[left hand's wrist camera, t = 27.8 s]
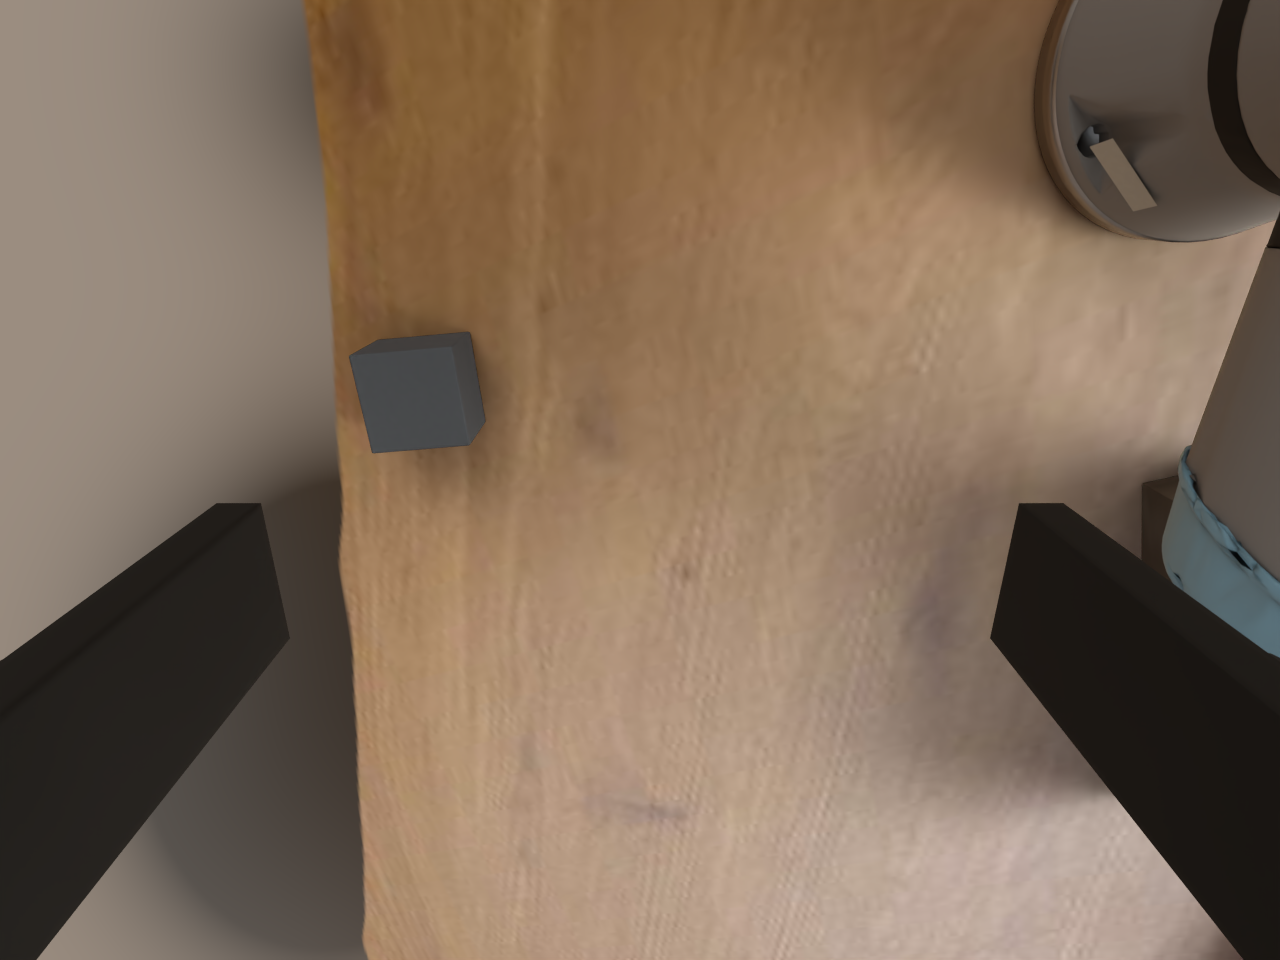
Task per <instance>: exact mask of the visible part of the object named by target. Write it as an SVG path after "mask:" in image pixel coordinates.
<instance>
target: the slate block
mask: <svg viewBox="0 0 1280 960" xmlns="http://www.w3.org/2000/svg"><path fill="white" fill-rule="evenodd" d="M349 359H350V363H351V367H352V371H353V375H354V379H355V384H356V388H357V392H358V396H359V400H360V404H361V409H362V413H363V417H364V421H365V425H366V429H367V434H368V438H369V442H370V446H371V450H372V453H383V452H395V451H407V450H419V449H431V448H443V447H455V446H467V445H470V444H471V442H472V441H473V439H474V438H475V436H476V435H477V433H478V432H479V430H480V429H481V428H482V426H483V425H484V423H485V416H484V410H483V405H482V399H481V393H480V387H479V382H478V376H477V370H476V364H475V359H474V353H473V347H472V342H471V336H470V333H469V332H461V333H450V334H439V335H427V336H416V337H405V338H393V339H382V340H377V341H375V342H373V343H371V344H369V345H368V346H366V347H364V348H362V349H360V350H359V351H357V352H355V353H353V354H351V355H350V356H349Z"/></svg>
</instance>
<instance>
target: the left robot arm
mask: <svg viewBox="0 0 1280 960" xmlns="http://www.w3.org/2000/svg"><path fill="white" fill-rule="evenodd" d="M1034 110H1035V124H1036V130H1037V136H1038V142H1039V145H1040V149H1041V152H1042V156H1043V159H1044V161H1045V164H1046V166H1047V169H1048V171H1049V173H1050V175H1051V177H1052V179H1053V181H1054V182H1055V184H1056V186H1057V187H1058V189H1059V190H1060V191H1061V193H1062V194H1063V196H1064V197H1065V198H1066V199H1067V200H1068V201H1069V203H1070V204H1071V205H1072V206H1073V207H1074V208H1075V209H1076V210H1078V211H1079V212H1080V213H1081V214H1082V215H1083V216H1085V217H1086V218H1088V219H1089V220H1091V221H1092V222H1094V223H1095V224H1097V225H1099V226H1101V227H1103V228H1105V229H1107V230H1109V231H1112V232H1114V233H1117V234H1120V235H1124V236H1128V237H1132V238H1138V239H1146V240H1155V241H1166V242H1198V241H1207V240H1212V239H1218V238H1222V237H1226V236H1230V235H1233V234H1237V233H1240V232H1242V231H1245V230H1248V229H1251V228H1254V227H1256V226H1259V225H1262V224H1265V223H1268V222H1271V221H1274V220H1276V223H1275V226H1274V228H1273V231H1272V234H1271V237H1270V239H1269V242H1268V244H1267V247H1266V248H1265V250H1264V253H1263V255H1262V258H1261V261H1260V263H1259V266H1258V269H1257V272H1256V274H1255V277H1254V280H1253V282H1252V285H1251V288H1250V290H1249V293H1248V296H1247V298H1246V301H1245V304H1244V306H1243V309H1242V312H1241V315H1240V317H1239V320H1238V323H1237V325H1236V328H1235V331H1234V333H1233V336H1232V339H1231V341H1230V344H1229V347H1228V349H1227V352H1226V355H1225V358H1224V360H1223V363H1222V366H1221V368H1220V371H1219V374H1218V376H1217V379H1216V382H1215V384H1214V387H1213V390H1212V392H1211V395H1210V398H1209V401H1208V403H1207V406H1206V409H1205V411H1204V414H1203V417H1202V419H1201V422H1200V425H1199V427H1198V430H1197V433H1196V435H1195V438H1194V441H1193V444H1192V445H1190V446H1187V447H1186V448H1185V450H1184V451H1183V453H1182V455H1181V457H1180V460H1179V465H1178V475H1179V483H1178V486H1177V490H1176V493H1175V497H1174V500H1173V503H1172V507H1171V510H1170V514H1169V517H1168V520H1167V524H1166V527H1165V531H1164V534H1163V539H1162V556H1163V562H1164V565H1165V569H1166V572H1167V574H1168V576H1169V578H1170V579H1171V581H1172V582H1170V581H1169V580H1168V579H1166V578H1165V577H1163V576H1162V575H1161V574H1159V573H1158V572H1157V571H1155V570H1154V569H1153V568H1151V567H1150V566H1148V565H1147V564H1146V563H1144V562H1143V561H1142V560H1140V559H1139V558H1137V557H1136V556H1135V555H1133V554H1132V553H1131V552H1129V551H1128V550H1127V549H1125V548H1124V547H1122V546H1121V545H1120V544H1118V543H1117V542H1116V541H1114V540H1113V539H1111V538H1110V537H1109V536H1107V535H1106V534H1105V533H1103V532H1102V531H1101V530H1099V529H1098V528H1096V527H1095V526H1094V525H1092V524H1091V523H1090V522H1088V521H1087V520H1085V519H1084V518H1083V517H1081V516H1080V515H1079V514H1077V513H1076V512H1075V511H1073V510H1072V509H1070V508H1069V507H1068V506H1066V505H1065V504H1064V503H1019V506H1018V511H1017V516H1016V520H1015V525H1014V530H1013V534H1012V539H1011V544H1010V548H1009V553H1008V557H1007V562H1006V567H1005V571H1004V576H1003V581H1002V585H1001V590H1000V595H999V599H998V604H997V609H996V613H995V618H994V623H993V627H992V632H991V637H990V639H991V640H992V641H993V642H994V644H995V645H996V646H997V647H998V649H999V650H1000V651H1001V653H1002V654H1003V655H1004V656H1005V658H1006V659H1007V660H1008V661H1009V663H1010V664H1011V665H1012V666H1013V668H1014V669H1015V670H1016V672H1017V673H1018V674H1019V675H1020V677H1021V678H1022V679H1023V680H1024V682H1025V683H1026V684H1027V686H1028V687H1029V688H1030V689H1031V691H1032V692H1033V693H1034V694H1035V696H1036V697H1037V698H1038V699H1039V701H1040V702H1041V703H1042V705H1043V706H1044V707H1045V708H1046V710H1047V711H1048V712H1049V713H1050V715H1051V716H1052V717H1053V718H1054V720H1055V721H1056V722H1057V724H1058V725H1059V726H1060V727H1061V729H1062V730H1063V731H1064V732H1065V734H1066V735H1067V736H1068V738H1069V739H1070V740H1071V741H1072V743H1073V744H1074V745H1075V746H1076V748H1077V749H1078V750H1079V751H1080V753H1081V754H1082V755H1083V757H1084V758H1085V759H1086V760H1087V762H1088V763H1089V764H1090V765H1091V767H1092V768H1093V769H1094V771H1095V772H1096V773H1097V774H1098V776H1099V777H1100V778H1101V779H1102V781H1103V782H1104V783H1105V784H1106V786H1107V787H1108V788H1109V790H1110V791H1111V792H1112V793H1113V795H1114V796H1115V797H1116V798H1117V800H1118V801H1119V802H1120V803H1121V805H1122V806H1123V807H1124V809H1125V810H1126V811H1127V812H1128V814H1129V815H1130V816H1131V817H1132V819H1133V820H1134V821H1135V823H1136V824H1137V825H1138V826H1139V828H1140V829H1141V830H1142V831H1143V833H1144V834H1145V835H1146V836H1147V838H1148V839H1149V840H1150V842H1151V843H1152V844H1153V845H1154V847H1155V848H1156V849H1157V850H1158V852H1159V853H1160V854H1161V855H1162V857H1163V858H1164V859H1165V861H1166V862H1167V863H1168V864H1169V866H1170V867H1171V868H1172V869H1173V871H1174V872H1175V873H1176V875H1177V876H1178V877H1179V878H1180V880H1181V881H1182V882H1183V883H1184V885H1185V886H1186V887H1187V888H1188V890H1189V891H1190V892H1191V894H1192V895H1193V896H1194V897H1195V899H1196V900H1197V901H1198V902H1199V904H1200V905H1201V906H1202V908H1203V909H1204V910H1205V911H1206V913H1207V914H1208V915H1209V916H1210V918H1211V919H1212V920H1213V921H1214V923H1215V924H1216V925H1217V927H1218V928H1219V929H1220V930H1221V932H1222V933H1223V934H1224V935H1225V937H1226V938H1227V939H1228V940H1229V942H1230V943H1231V944H1232V946H1233V947H1234V948H1235V949H1236V951H1237V952H1238V953H1239V954H1240V956H1241V957H1242V958H1243V960H1280V0H1059V3H1058V5H1057V7H1056V9H1055V11H1054V14H1053V16H1052V18H1051V21H1050V24H1049V27H1048V29H1047V32H1046V35H1045V38H1044V42H1043V46H1042V49H1041V53H1040V58H1039V63H1038V68H1037V74H1036V83H1035V102H1034ZM289 639H290V637H289V632H288V628H287V623H286V618H285V613H284V609H283V604H282V599H281V595H280V590H279V586H278V581H277V576H276V571H275V567H274V562H273V558H272V553H271V548H270V544H269V539H268V534H267V530H266V525H265V520H264V516H263V511H262V506H261V503H217V504H215V505H214V506H212V507H211V508H210V509H208V510H207V511H206V512H204V513H203V514H201V515H200V516H199V517H197V518H196V519H195V520H193V521H192V522H190V523H189V524H188V525H186V526H185V527H184V528H182V529H181V530H179V531H178V532H177V533H175V534H174V535H173V536H171V537H170V538H169V539H167V540H166V541H164V542H163V543H162V544H160V545H159V546H158V547H156V548H155V549H154V550H152V551H151V552H149V553H148V554H147V555H145V556H144V557H143V558H141V559H140V560H138V561H137V562H136V563H134V564H133V565H132V566H130V567H129V568H128V569H126V570H125V571H123V572H122V573H121V574H119V575H118V576H117V577H115V578H114V579H112V580H111V581H110V582H108V583H107V584H106V585H104V586H103V587H102V588H100V589H99V590H97V591H96V592H95V593H93V594H92V595H91V596H89V597H88V598H87V599H85V600H84V601H82V602H81V603H80V604H78V605H77V606H75V607H74V608H73V609H71V610H70V611H69V612H67V613H66V614H65V615H63V616H62V617H60V618H59V619H58V620H56V621H55V622H54V623H52V624H51V625H49V626H48V627H47V628H45V629H44V630H43V631H41V632H40V633H39V634H37V635H36V636H34V637H33V638H32V639H30V640H29V641H28V642H26V643H25V644H23V645H22V646H21V647H19V648H18V649H17V650H15V651H14V652H13V653H11V654H10V655H8V656H7V657H6V658H4V659H3V660H1V661H0V960H37V958H38V957H39V956H40V954H41V953H42V952H43V951H44V949H45V948H46V947H47V946H48V944H49V943H50V942H51V940H52V939H53V938H54V937H55V935H56V934H57V933H58V932H59V930H60V929H61V928H62V927H63V925H64V924H65V923H66V921H67V920H68V919H69V918H70V916H71V915H72V914H73V912H74V911H75V910H76V909H77V907H78V906H79V905H80V904H81V902H82V901H83V900H84V899H85V897H86V896H87V895H88V894H89V892H90V891H91V890H92V888H93V887H94V886H95V885H96V883H97V882H98V881H99V880H100V878H101V877H102V876H103V875H104V873H105V872H106V871H107V869H108V868H109V867H110V866H111V864H112V863H113V862H114V861H115V859H116V858H117V857H118V855H119V854H120V853H121V852H122V850H123V849H124V848H125V847H126V845H127V844H128V843H129V842H130V840H131V839H132V838H133V836H134V835H135V834H136V833H137V831H138V830H139V829H140V828H141V826H142V825H143V824H144V822H145V821H146V820H147V819H148V817H149V816H150V815H151V814H152V812H153V811H154V810H155V809H156V807H157V806H158V805H159V803H160V802H161V801H162V800H163V798H164V797H165V796H166V795H167V793H168V792H169V791H170V790H171V788H172V787H173V786H174V784H175V783H176V782H177V781H178V779H179V778H180V777H181V776H182V774H183V773H184V772H185V770H186V769H187V768H188V767H189V765H190V764H191V763H192V762H193V760H194V759H195V758H196V756H197V755H198V754H199V753H200V751H201V750H202V749H203V748H204V746H205V745H206V744H207V743H208V741H209V740H210V739H211V737H212V736H213V735H214V734H215V732H216V731H217V730H218V729H219V727H220V726H221V725H222V724H223V722H224V721H225V720H226V718H227V717H228V716H229V715H230V713H231V712H232V711H233V710H234V708H235V707H236V706H237V704H238V703H239V702H240V701H241V699H242V698H243V697H244V696H245V694H246V693H247V692H248V691H249V689H250V688H251V687H252V685H253V684H254V683H255V682H256V680H257V679H258V678H259V677H260V675H261V674H262V673H263V672H264V670H265V669H266V668H267V666H268V665H269V664H270V663H271V661H272V660H273V659H274V658H275V656H276V655H277V654H278V653H279V651H280V650H281V649H282V647H283V646H284V645H285V644H286V642H287V641H288V640H289Z"/></svg>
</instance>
